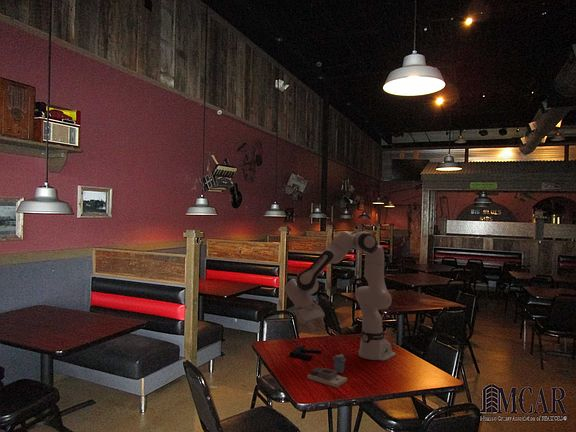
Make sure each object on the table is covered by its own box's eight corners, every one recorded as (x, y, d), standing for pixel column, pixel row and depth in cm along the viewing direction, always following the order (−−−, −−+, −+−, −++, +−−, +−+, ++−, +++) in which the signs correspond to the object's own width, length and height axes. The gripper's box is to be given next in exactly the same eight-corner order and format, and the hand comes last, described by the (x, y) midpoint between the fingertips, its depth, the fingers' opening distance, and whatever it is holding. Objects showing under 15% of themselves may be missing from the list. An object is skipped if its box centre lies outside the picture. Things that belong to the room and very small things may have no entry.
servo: (332, 370, 204) (332, 353, 205) (335, 369, 207) (335, 352, 207) (342, 373, 201) (343, 356, 201) (345, 371, 203) (346, 355, 204)
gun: (325, 351, 240) (301, 348, 245) (325, 347, 240) (301, 343, 245) (312, 362, 217) (286, 358, 223) (313, 357, 218) (287, 352, 223)
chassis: (307, 378, 193) (307, 370, 193) (318, 372, 201) (318, 364, 201) (336, 387, 183) (336, 378, 183) (347, 381, 191) (347, 372, 191)
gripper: (296, 304, 209) (311, 327, 202) (318, 300, 225) (332, 321, 219) (289, 312, 211) (304, 334, 205) (311, 307, 227) (325, 327, 221)
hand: (318, 327), depth 212 cm, fingers open, 8 cm apart
